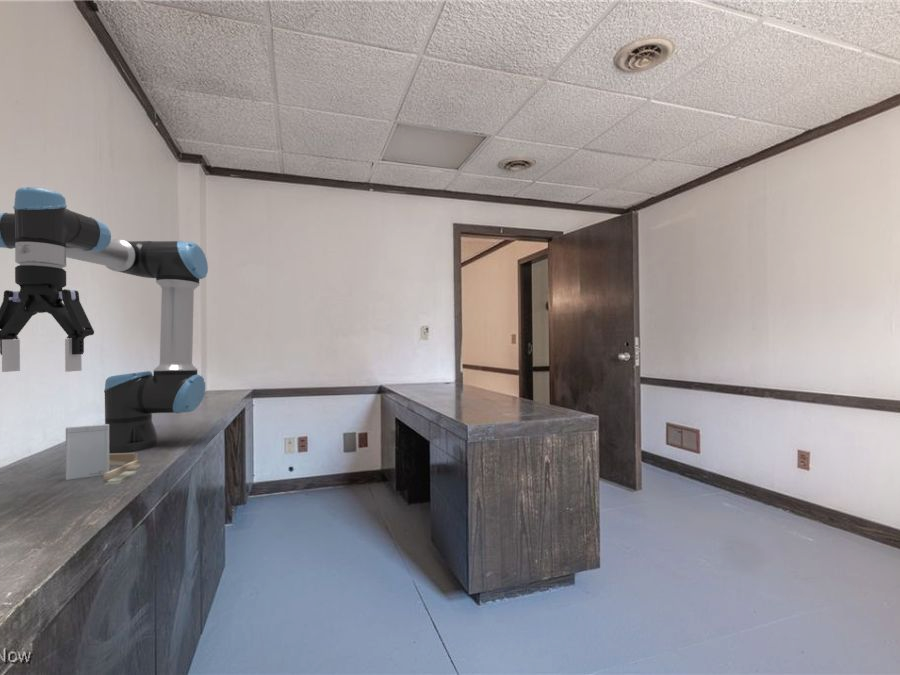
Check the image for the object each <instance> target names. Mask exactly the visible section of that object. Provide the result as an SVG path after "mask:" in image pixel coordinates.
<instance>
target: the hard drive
mask: <svg viewBox="0 0 900 675" xmlns="http://www.w3.org/2000/svg"><path fill="white" fill-rule="evenodd" d="M109 471H110V465H109V424H105V423H104V424H93V425H84V426H82V425H81V426H69V427H66V428H65V481H69V480H77V479H83V478H84V479H85V478H91V477H92V478H93V477H100V476H104V473H106V472H109Z"/></svg>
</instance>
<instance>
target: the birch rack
mask: <svg viewBox="0 0 900 675" xmlns="http://www.w3.org/2000/svg"><path fill="white" fill-rule="evenodd" d="M141 462H142V461H141V459H138V452H126V453H109V466H114V465H115V466H119V467H115V468H114V469H113V468H112V469H111V470H109V472H106V473H104V475H103V483H107V481H108V480H110V479H112V478H114V477H116V476H118V475H119V474H121V473H123V472H125V471H134V470H135V469H137V468H139V467H141Z"/></svg>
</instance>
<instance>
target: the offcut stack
mask: <svg viewBox="0 0 900 675" xmlns="http://www.w3.org/2000/svg"><path fill="white" fill-rule="evenodd" d="M137 472H138V471H137V470H131V471H125V472H123V473H121V474H119V475H118V476H116V477H114V478H112V479H110V480H108V481H107V482H105V486H106V485H119V484H118V483H120V484H121V482H122V483H123V481H124V482H126V480H128V479H131V477H133V476H135V475H137Z"/></svg>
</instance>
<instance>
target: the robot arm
mask: <svg viewBox="0 0 900 675" xmlns="http://www.w3.org/2000/svg"><path fill="white" fill-rule="evenodd" d="M14 194H15V195H14V206H13V207H12V208H13V210H14V213H10V212H9V213H8V212H0V248H1V249H9V250H11V249H14V258H15V259H14V262H15V263H16V264H18V265H16V266H15V267H14V282H15V284H17V286H19V291H17V290H9V289H6V290H4V291H3V297H2V298H3V299H2V303H1V305H0V356H1V372H2V373H7V372H8V373H9V372H21V353H20V352H21V349H20V348H21V347H20V346H21V345H20V344H21V342H20V339H21V338H19V337H18V335H19V334H20V332H22V330H23V329H24V327H25V326H26V325H27V323H29V321H30V319H31V318H32V317H33V316H34V315H37V314H38V313H39V314H42V313H43V314H44V313H48V314H50V315H51V316H52V317H53V318H54V320H55V321H56V322H57V323H58V325H59V326H60V327H61V329H63V331H64V332H65V334H67V337H65V339H64V351H65V352H64V354H65V356H64V360H65V362H64V364H65V365H64V366H65V367H64V368H65V369H64V370H65V372H66V373H67V372H79V371H80V372H81V371H83V370H82V365H83V364H82V355H84V352H85V347H84V346H85V339H86V337H88V336H89V337H90V336H93V335H94V334H95V330H94V328H93V326H92V325H91V322H90V319H89V318H88V316H87V314H86V312H85V310H84V307H83V305H82V303H81V300H80V293H79V291H78V290H74V289H65V287H66V286H67V271H66V270H65V269H64V268H66V267H67V258H68V259H71V260H77V261H82V262H87V263H92V264H96V265H101V266H105V267H106V268H107V269H109V270H110V271H113V272H119V273H123V274H127V275H130V276H131V275H132V276H136V277H141V278H146V279H155V282H156V284H157V285H158V286H160V288H161V300H160V301H161V302H160V303H161V304H160V305H161V306H160V308H161V309H160V339H159V340H160V342H159V364H158V366H156V367H155V368H154V369H153V372H152V371H149V370H147V371H139V372H133V373H132V372H130V373H124V374H117V375H116V374H115V375H111V376H109V377H107V379H106V380H105V382H104V390H103V392H104V425H105V424H109V453H135V452H138V451H143V450H147V449H151V448H155V447H156V446H158V445H159V443H160V442H159V440H160V439H159V435H158V432H157V430H156V428H155V426H154V423H153V414H181V413H191V412H194V411H195V410H196V409H197V408H199V406H200V405H201V404H202V401H203V399H204V397H205V393H206V381H205V379H204V377H203V376H202V375H200V374H198V368H197V367H196V366H194V364H193V343H194V341H193V340H194V339H193V337H194V300H195V299H194V298H195V297H194V296H195V295H194V294H195V292H194V291H195V290H196V289H197V288H198V287H199V286H200V280H202V279H205V278H206V277H207V274H208V271H209V270H208V269H209V265H208V261H207V260H208V259H207V257H206V254H205V252H204V251H203V248H201V247H200V245H198V244H197V243H195V242H193V241H183V240H175V241H173V240H169V241H168V240H167V241H166V240H165V241H164V240H162V241H161V240H157V241H156V240H154V241H153V240H139V241H138V240H137V241H136V240H134V241H131V240H124V239H119V238H117V239H112V234H111V233H112V232H111V230H110V229H109V227H108V226H107V225H106V224H105V223H103V222H101V221H99V220H96V219H95V218H93V217H92V216H91V217H89V216H86V215H83V214H81V213H77V212H75V211H72V210H70V209H68V208H67V207H68V205H67V203H66V202H67V201H66V197H65V196H63V194H61V193H60V192H57V191H54V190H51V189H46V188H41V187H35V186H34V187H33V186H31V187H30V186H23V187H19V188H18V189H17V190H16V191H15V193H14ZM63 288H64V289H63Z"/></svg>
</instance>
